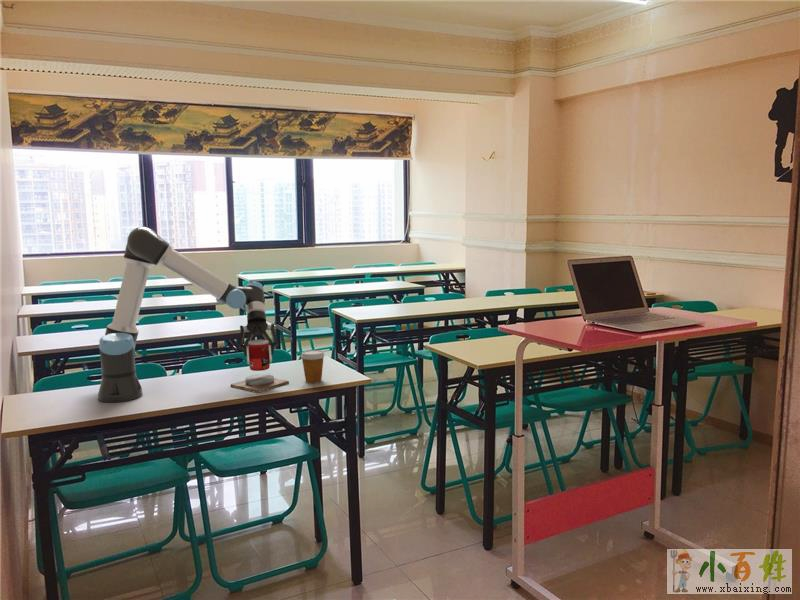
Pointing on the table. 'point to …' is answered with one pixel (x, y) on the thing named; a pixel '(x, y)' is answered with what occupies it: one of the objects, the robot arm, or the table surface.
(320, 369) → the disposable coffee cup
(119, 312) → the robot arm
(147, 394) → the table surface
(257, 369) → the canned food
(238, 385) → the seat plate
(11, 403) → the table surface
